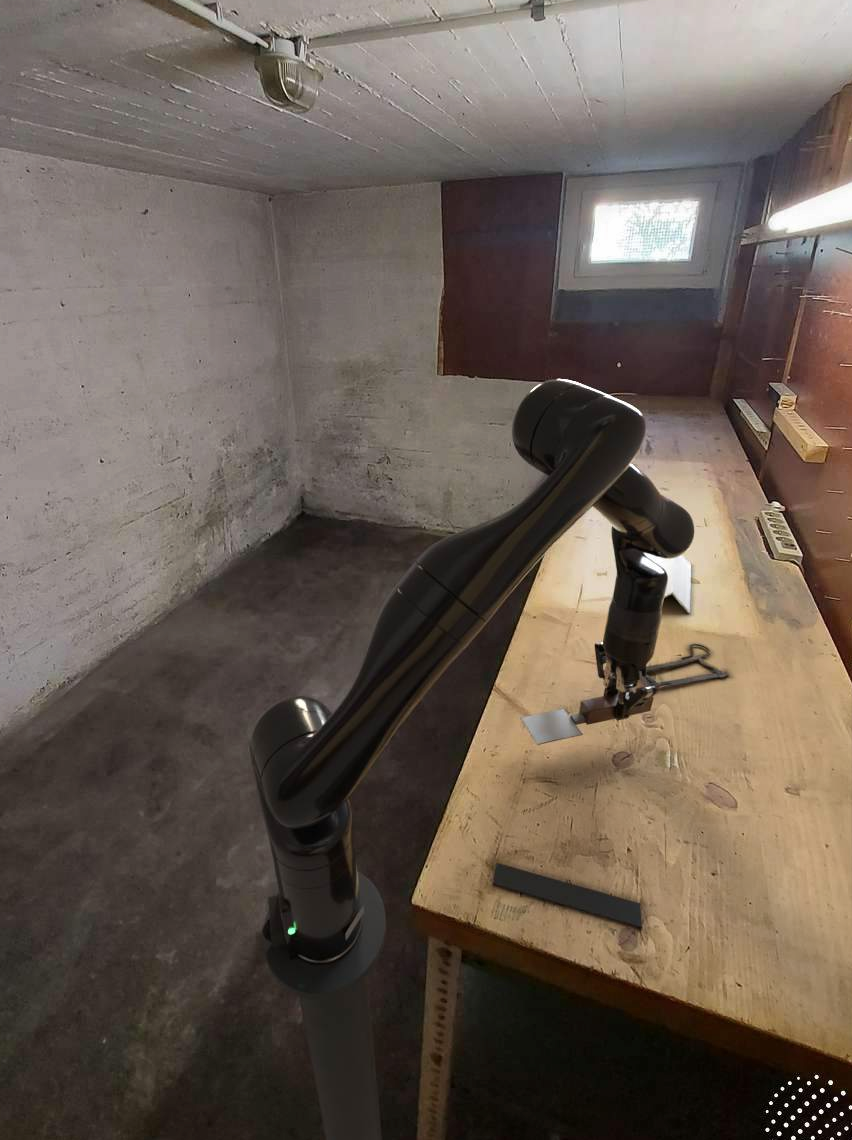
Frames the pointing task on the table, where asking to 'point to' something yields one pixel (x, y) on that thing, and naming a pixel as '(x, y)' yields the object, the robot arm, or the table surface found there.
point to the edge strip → (568, 894)
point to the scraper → (575, 718)
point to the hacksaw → (682, 662)
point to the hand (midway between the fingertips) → (615, 711)
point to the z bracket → (676, 578)
